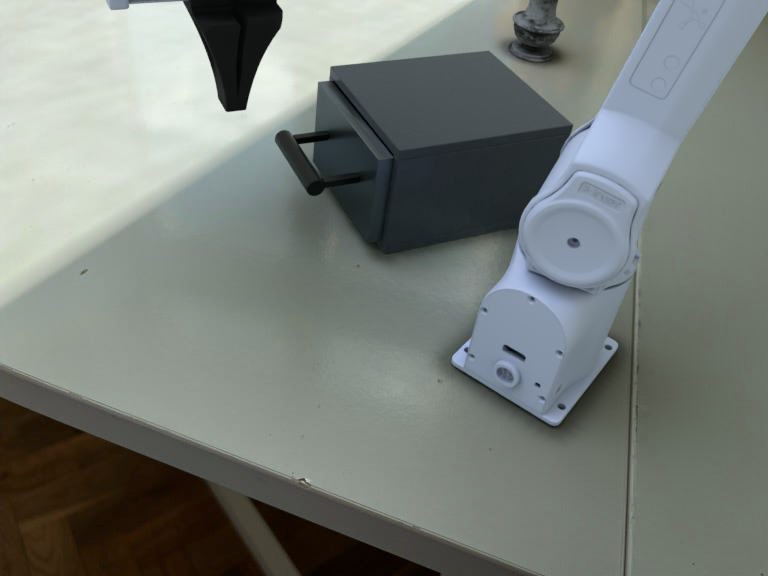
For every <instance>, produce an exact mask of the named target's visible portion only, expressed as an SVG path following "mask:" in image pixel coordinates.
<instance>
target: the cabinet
mask: <svg viewBox="0 0 768 576" xmlns="http://www.w3.org/2000/svg"><path fill="white" fill-rule="evenodd" d="M329 67H330V68H329V79H328V81H331V80H332V81H333V82H334V84H335V85H336V86H337V87H338V88H339V90H340V91H341V92H342V93H343V95H344V96H345V97H346V98H347V100H348V101H349V102H350V101H351V102H352V103H353V105H354V106H355V107H356V108H357V110H358V111H359V112H360V113H361V115H362V116H363V117H364V118H365V119H366V121H367V122H368V123H369V124H370V126H371V127H372V128H373V129H374V131H375V132H376V133H377V134H378V136H379V137H380V138H381V139H382V141H383V142H384V143H385V144H386V146H387V147H388V148H389V149H390V151H391V152H392V153H393V154H394V156H393V157H394V160H393V167H392V174H391V181H390V188H389V195H388V201H387V208H386V215H385V222H384V229H383V236H382V240H380V241H375V243H376V244H377V246H378V248H379V249H380V251H381V252H382V253H383V255H388V254H391V253H392V254H393V253H397V252H402V251H407V250H412V249H417V248H423V247H426V246H431V245H436V244H441V243H446V242H450V241H455V240H460V239H461V240H462V239H465V238H470V237H475V236H480V235H485V234H489V233H495V232H501V231H505V230H509V229H514V228H519V222H520V219H521V215H522V213H523V211H524V209H525V208H526V206H527V205H528V204H529V202H530V201H531V199H532V198H533V197H535V196H536V195H537V194H538V192H539V191H540V189H541V187H542V186H543V184H544V182H545V181H546V179H547V177H548V175H549V174H550V172H551V170H552V169H553V167H554V165H555V164H556V162H557V160H558V159H559V157H560V152H561V149H562V147H563V145H564V144H565V142H566V140H567V139H568V137H569V136H570V135H571V134H572V132H573V128H574V124H573V123H572V122H571V121H570V120H569V119H568V118H566V117H565V116H564V115H563V114H562V113H561V112H559V111H558V110H557V109H556V107H554V106H553V105H552V104H550V103H549V102H548V100H546V99H545V98H544V97H542V96H541V95H540V94H539V93H538V92H537V91H536V90H535V89H533V88H532V87H531V86H530V85H529V84H527V82H526V81H524V80H523V79H522V78H521V77H519V75H517V74H516V73H515V72H514V71H513V70H512V69H511V68H510V67H508V65H506V64H505V63H504V62H502V60H501V59H499V57H497V56H496V55H495V54H494V53H492V52H491V51H490V50H480V51H471V52H462V53H461V52H460V53H453V54H452V53H451V54H441V55H440V54H439V55H430V56H420V57H410V58H400V59H390V60H381V61H369V62H360V63H352V64H350V63H349V64H339V65H330V66H329Z"/></svg>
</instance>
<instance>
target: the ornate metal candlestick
mask: <svg viewBox="0 0 768 576" xmlns="http://www.w3.org/2000/svg"><path fill="white" fill-rule="evenodd" d="M558 4H559V0H529V1H528V3H527V6H526V8H525V9H523V10H518V11H516V12H514V13H513V15H512V21H513V32H514V35H515V37H516V40H513V41H511V42H510V43H508V45H507V49H508V51H509V52H510V53H511V54H512V55H513V56H515V57H516V58H519V59H521V60H524V61H527V62H533V63H534V62H535V63H544V62H545V63H547V62H549V61H551V60H553V59H554V56H555V53H554V51H553V49H552V48H551V47H550V46H551V45H552V44H554V43H555V42H556V41H557V39H558V38H559V37H560V35H561V32H563V31H564V30H565V28H566V26H565V22H564V21H563V20H562V19H560V18H559V17H557V7H558Z"/></svg>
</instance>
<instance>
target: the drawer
mask: <svg viewBox="0 0 768 576" xmlns="http://www.w3.org/2000/svg"><path fill="white" fill-rule="evenodd" d="M316 90H317V91H316V92H317V93H316V106H315V107H316V108H315V121H314V131H312V132H311V131H310V132H303V133H295V134H292V132H291V131H290V130H287V129H282V130H280V131H278V132H277V133H276V134H275V136H274V143H275V144H276V146H277V148H278V149H279V151H280V152H281V154H282V156H283V157H284V158H285V161H286V162H287V163H288V165H289V167H290V168H291V170H292V171H293V172H294V174H295V176H296V177H297V179H298V180H299V182H300V184H301V185H302V187H303V189H304V190H305V191H306V193H307V195H309V196H310V197H317V196H320V195H321V194H322V193H323V192H324V191H325V190H326V189H329V188H330V189H331V190H332V192H333V193H334V195H335V197H336V198H337V200H338V201H339V203H340V205H341V206H342V207H343V208H344V210H345V211H346V213H347V214H348V216H349V217H350V219H351V220H352V223H354V225H355V227H356V228H357V229H358V231H359V232H360V234H361V235H362V237H363V238H364V240H365V241H366V243H368V244H369V243H373V242H374V243H376V241H380V240H382V236H383V229H384V222H385V215H386V208H387V201H388V195H389V188H390V181H391V174H392V167H393V160H394V157H393V156H394V154H393V153H392V152H391V151H390V149H389V148H388V147H387V146H386V144H385V143H384V142H383V141H382V139H381V138H380V137H379V136H378V134H377V133H376V132H375V131H374V129H373V128H372V127H371V126H370V124H369V123H368V122H367V121H366V119H365V118H364V117H363V116H362V115H361V113H360V112H359V111H358V110H357V108H356V107H355V106H354V105H353V103H352V102H351V101H350V102H349V101H348V100H347V98H346V97H345V96H344V95H343V93H342V92H341V91H340V90H339V88H338V87H337V86H336V85H335V84H334V82H333V81H332V80H331V81H329V80H323V81H317V89H316ZM312 143H313V151H312V152H313V154H312V162H313V163H312V162H311V161H310V159H309V158H308V156H307V155H306V153H305V151H304V150H303V149H302V147H301V145H306V144H312ZM313 164H314V165H315V166H314V165H313ZM315 167H316V168H317V170H318V171H319V173H320V174H319V173H318V171H317V170H316V168H315ZM320 175H321V176H322V177H321V176H320Z"/></svg>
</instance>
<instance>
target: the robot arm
mask: <svg viewBox="0 0 768 576" xmlns="http://www.w3.org/2000/svg"><path fill="white" fill-rule="evenodd" d="M105 2H106V5H107V6H108V8H109V10H110V11H121V10H128V9H129V8H130V5H139V4H140V5H141V4H157V3H171V2H172V3H173V2H174V3H175V2H182V3H183V5H184V7H185V9H186V11H187V12H188V14H189V16H190V18H191V20H192V23H193V25H194V26H195V29H196V31H197V33H198V35H199V38H200V40H201V43H202V46H203V48H204V50H205V53H206V56H207V58H208V61H209V64H210V67H211V70H212V74H213V78H214V83H215V87H216V93H217V99H218V101H219V102H220V104H221V106H222V108H223V109H224V111H225V113H231V112H232V113H233V112H240V111H246V110H247V107H248V103H249V98H250V95H251V90H252V87H253V83H254V80H255V78H256V75H257V72H258V69H259V67H260V64H261V62H262V60H263V58H264V55H265V54H266V51H267V50H268V48H269V46H270V45H271V43H272V41H273V39H274V38H275V37H276V35H277V34H278V33H279V31H280V30H281V28H282V25H283V18H284V11H283V9H282V7H281V6H280V5H279V4H278V0H105ZM767 14H768V0H659V1H658V3H657V5H656V6H655V8H654V10H653V12H652V14H651V15H650V17H649V19H648V21H647V23H646V25H645V27H644V29H643V30H642V32H641V34H640V36H639V37H638V39H637V41H636V43H635V45H634V46H633V49H632V50H631V52H630V54H629V55H628V58H627V60H626V62H625V63H624V65H623V66H622V68H621V70H620V72H619V74H618V75H617V78H616V80H615V81H614V83H613V85H612V87H611V89H610V90H609V92H608V94H607V96H606V98H605V100H604V102H603V103H602V105H601V107H600V109H599V110H598V112H597V113H596V115H594V116H593V118H592V119H590V120H589V121H587V122H586V123H584V124H583V125H581V126H579V127H578V128H576V129H575V130H574V131H572V132H571V134H570V136H569V137H568V139H567V140H566V142H565V144H564V145H563V147H562V149H561V152H560V157H559V159H558V160H557V162H556V164H555V165H554V167H553V169H552V170H551V172H550V174H549V175H548V177H547V179H546V181H545V182H544V184H543V186H542V187H541V189H540V191H539V192H538V194H537V195H536V196H535V197H533V198H532V199H531V201H530V202H529V204H528V205H527V206H526V208H525V209H524V211H523V213H522V215H521V219H520V222H519V227H518V235H517V239H516V241H515V245H514V248H513V249H514V250H513V253H512V256H511V260H510V263H509V266H508V267H507V269H506V271H505V273H504V274H503V276H502V277H501V278H500V279H499V281H497V282H496V284H495V285H494V286H493V287H492V288H491V289H490V290H489V291H488V292H487V293H486V295H484V297H483V299H482V301H481V303H480V305H479V309H478V312H477V315H476V320H475V323H474V327H473V330H472V334H471V337H470V338H469V339H468V340H467V341H466V342H465V343H464V344H463V345H462V346H461V347H460V348H459V349H458V350H457V351H456V352H455V353H454V354H452V357H451V365H452V366H454V367H455V368H457V369H458V370H460V371H462V372H463V373H465V374H467V375H468V376H469V377H471V378H473V379H475V380H477V381H478V382H480V383H481V384H482V385H484V386H485V387H488V388H489V389H491V390H493V391H494V392H496V393H497V394H499V395H501V396H503V397H504V398H505V399H507V400H509V401H511V402H512V403H513V404H516V405H517V406H519V407H520V408H522V409H524V410H525V411H527V412H528V413H530V414H531V415H533V416H535V417H536V418H538V419H539V420H541V421H543V422H545V423H546V424H547V425H549V426H553V427H556V426H559V425H560V424H561V423H562V422H563V420H564V419H565V418H566V417H567V415H568V414H569V413H570V412H571V410H572V409H573V407H574V406H575V405H576V403H577V402H578V401H579V400H580V398H581V397H582V396H583V395H584V393H585V392H586V391H587V389H588V388H589V387H590V386H591V384H592V383H593V382H594V381H595V379H596V378H597V376H598V375H600V373H601V371H602V370H603V369H604V367H606V365H607V364H608V363H609V361H610V360H611V358H613V356H614V355H615V353H616V352H617V351H618V348H619V343H618V342H617V341H616V340H615V339H612V338H611V337H609V336H608V335H609V332H610V331H611V328H612V326H613V323H614V321H615V320H616V317H617V314H618V312H619V311H620V307H621V305H622V303H623V301H624V298H625V296H626V294H627V291H628V289H629V287H630V284H631V282H632V280H633V277H634V275H635V273H636V271H637V268H638V265H639V262H640V258H641V249H640V248H639V247H638V240H639V237H640V235H641V232H642V231H643V227H644V225H645V222H646V220H647V217H648V213H649V211H650V208H651V205H652V203H653V200H654V198H655V196H656V195H657V193H658V191H659V189H660V187H661V185H662V184H663V180H664V178H665V176H666V173H667V172H668V170H669V167H670V166H671V164H672V162H673V160H674V158H675V157H676V154H677V153H678V150H679V149H680V147H681V145H682V143H683V141H684V140H685V139H686V137H687V135H688V134H689V132H690V130H691V129H692V128H693V126H694V124H695V123H697V122H696V121H697V120H698V119H699V117H700V116H701V114H702V113H703V111H704V110H705V108H706V106H707V105H708V104H709V102H710V100H711V99H712V98H713V95H714V94H715V93H716V91H717V89H718V88H719V87H720V85H721V83H722V82H723V81H724V79H725V77H726V76H727V74H728V73H729V71H730V70H731V68H732V67H733V66H734V64H735V62H736V61H737V59H738V58H739V56H740V55H741V53H742V52H743V50H744V48H745V47H746V46H747V44H748V43H749V41H750V39H751V38H752V37H753V35H754V33H755V32H756V30H757V29H758V28H759V26H760V24H761V23H762V21H763V19H764V18H765V17H766V15H767Z"/></svg>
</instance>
